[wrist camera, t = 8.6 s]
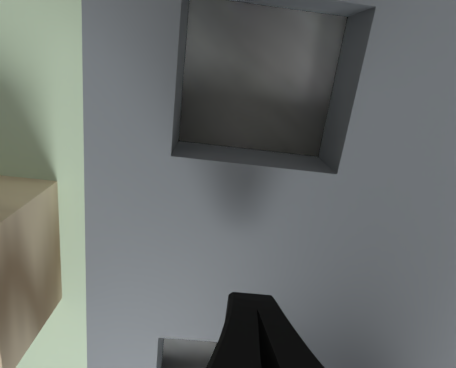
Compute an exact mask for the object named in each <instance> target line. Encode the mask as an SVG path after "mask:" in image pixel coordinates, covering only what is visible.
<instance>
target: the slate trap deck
mask: <svg viewBox="0 0 456 368" xmlns="http://www.w3.org/2000/svg"><path fill="white" fill-rule="evenodd" d="M231 1H238V2H245V3H252V4H259V5H267V6H274V7H281V8H288V9H295V10H303V11H310V12H317V13H324V14H331V15H339V16H346V17H348V18H347V23H346V28H345V33H344V37H343V42H342V47H341V52H340V56H339V61H338V66H337V71H336V75H335V80H334V85H333V90H332V94H331V99H330V104H329V109H328V113H327V118H326V123H325V128H324V132H323V137H322V142H321V147H320V151H319V156H318V157H316V156H307V155H298V154H289V153H280V152H271V151H262V150H253V149H244V148H235V147H226V146H217V145H208V144H199V143H190V142H181V141H179V129H180V115H181V102H182V89H183V75H184V62H185V48H186V35H187V22H188V8H189V0H0V175H3V176H13V177H22V178H32V179H42V180H52V181H57V185H58V209H59V233H60V257H61V281H62V299H61V300H60V302H59V303H58V305H57V306H56V308H55V309H54V311H53V312H52V314H51V315H50V317H49V318H48V320H47V321H46V323H45V324H44V326H43V327H42V329H41V330H40V332H39V333H38V335H37V336H36V338H35V339H34V341H33V342H32V344H31V345H30V347H29V348H28V350H27V351H26V353H25V354H24V356H23V357H22V359H21V360H20V362H19V363H18V365H17V366H16V368H162V356H163V343H164V338H169V339H182V340H196V341H209V342H218V340H219V338H220V335H221V332H222V329H223V326H224V323H225V316H226V309H227V302H228V295H229V294H230V293H232V292H240V293H252V294H263V295H272V296H273V298H274V299H275V300H276V302H277V303H278V305H279V307H280V308H281V310H282V311H283V313H284V314H285V316H286V317H287V319H288V320H289V321H290V323H291V324H292V326H293V327H294V329H295V330H296V331H297V333H298V334H299V336H300V337H301V338H302V340H303V341H304V342H305V344H306V345H307V346H308V348H309V349H310V350H311V352H312V353H313V354H314V355H315V357H316V358H317V359H318V360H319V362H320V363H321V364H322V365H323V366H324V368H456V0H231Z"/></svg>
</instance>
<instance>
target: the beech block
mask: <svg viewBox="0 0 456 368" xmlns="http://www.w3.org/2000/svg"><path fill="white" fill-rule="evenodd" d="M61 299H62V281H61V257H60V233H59V209H58V185H57V181H52V180H42V179H32V178H22V177H13V176H3V175H0V368H16V366H17V365H18V363H19V362H20V360H21V359H22V357H23V356H24V354H25V353H26V351H27V350H28V348H29V347H30V345H31V344H32V342H33V341H34V339H35V338H36V336H37V335H38V333H39V332H40V330H41V329H42V327H43V326H44V324H45V323H46V321H47V320H48V318H49V317H50V315H51V314H52V312H53V311H54V309H55V308H56V306H57V305H58V303H59V302H60V300H61Z"/></svg>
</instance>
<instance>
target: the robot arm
mask: <svg viewBox="0 0 456 368" xmlns="http://www.w3.org/2000/svg"><path fill="white" fill-rule="evenodd" d="M206 368H324V366H323V365H322V364H321V363H320V362H319V360H318V359H317V358H316V357H315V355H314V354H313V353H312V352H311V350H310V349H309V348H308V346H307V345H306V344H305V342H304V341H303V340H302V338H301V337H300V336H299V334H298V333H297V331H296V330H295V329H294V327H293V326H292V324H291V323H290V321H289V320H288V319H287V317H286V316H285V314H284V313H283V311H282V310H281V308H280V307H279V305H278V303H277V302H276V300H275V299H274V298H273V296H272V295H263V294H252V293H240V292H232V293H230V294H229V295H228V302H227V309H226V316H225V323H224V326H223V329H222V332H221V335H220V338H219V340H218V343H217V345H216V347H215V350H214V352H213V354H212V357H211V359H210V361H209V363H208V365H207V367H206Z"/></svg>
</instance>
